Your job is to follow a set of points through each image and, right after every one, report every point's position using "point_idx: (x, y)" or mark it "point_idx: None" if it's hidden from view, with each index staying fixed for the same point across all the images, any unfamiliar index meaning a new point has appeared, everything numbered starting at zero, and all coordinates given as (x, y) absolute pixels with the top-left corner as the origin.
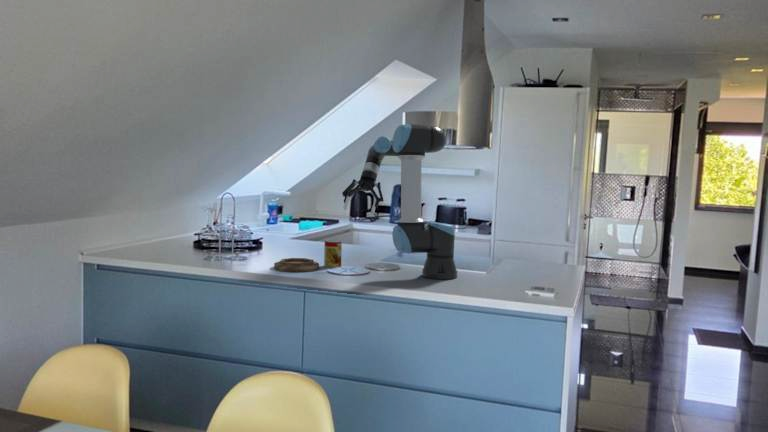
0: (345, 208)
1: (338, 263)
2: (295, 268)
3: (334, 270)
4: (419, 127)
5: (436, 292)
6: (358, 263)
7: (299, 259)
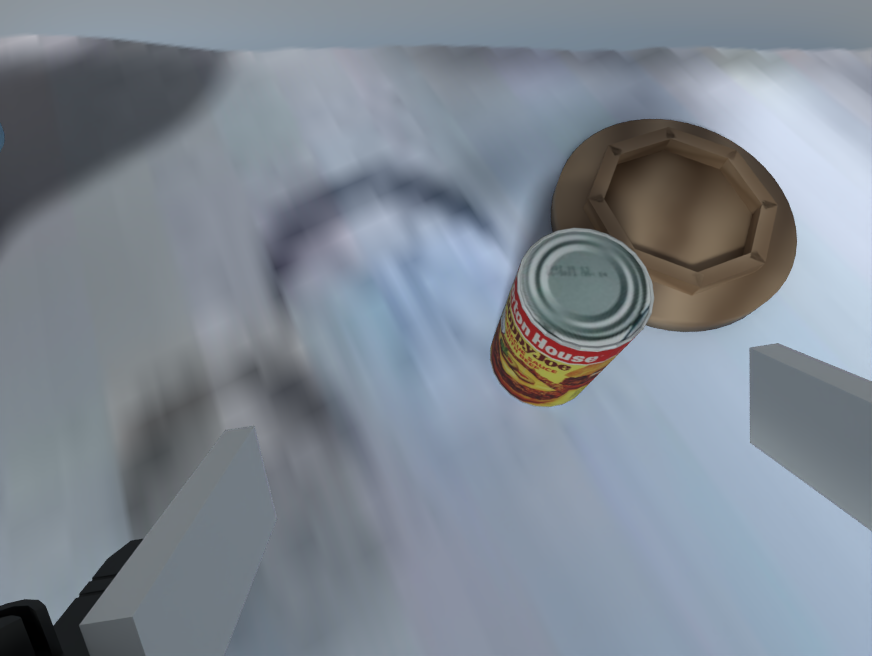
0: (750, 382)
1: (496, 330)
2: (606, 130)
3: (468, 259)
4: None
5: None
6: (455, 543)
7: (718, 266)
